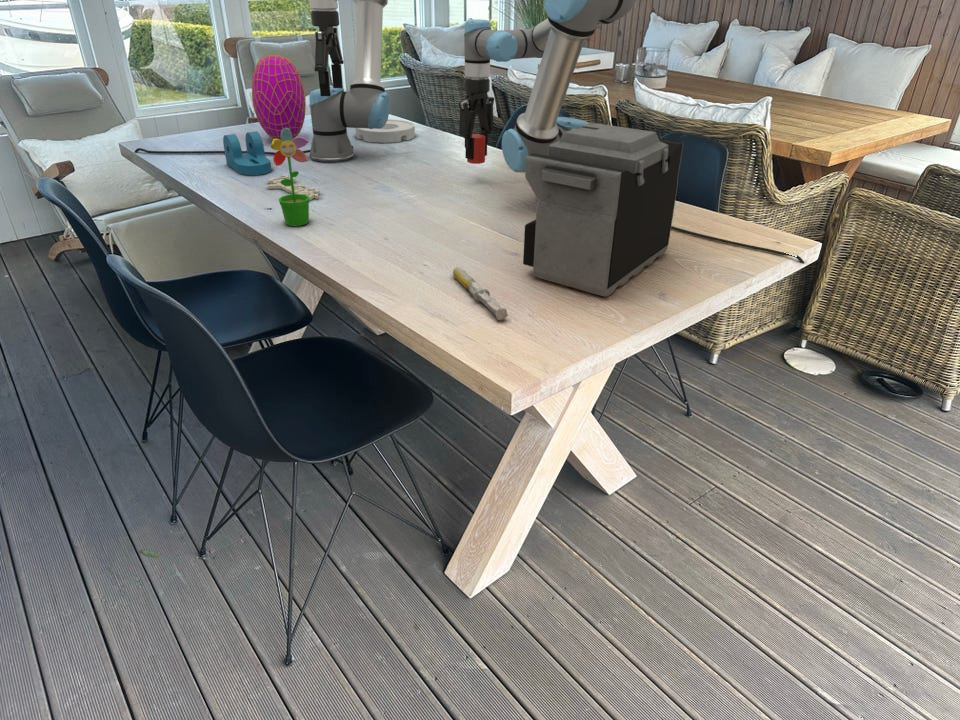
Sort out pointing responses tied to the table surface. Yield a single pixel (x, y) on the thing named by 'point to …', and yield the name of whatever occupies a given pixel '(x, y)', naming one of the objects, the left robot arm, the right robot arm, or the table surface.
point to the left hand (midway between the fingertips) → (332, 92)
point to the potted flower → (291, 178)
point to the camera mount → (246, 154)
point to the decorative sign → (297, 188)
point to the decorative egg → (278, 96)
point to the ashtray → (388, 132)
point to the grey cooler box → (601, 206)
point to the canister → (478, 149)
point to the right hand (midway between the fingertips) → (476, 156)
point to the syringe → (479, 293)
